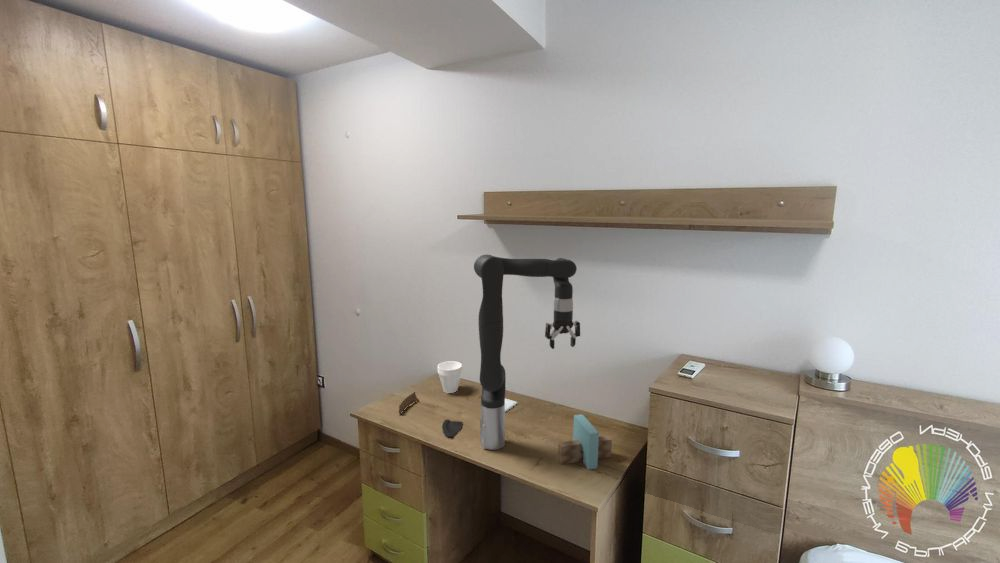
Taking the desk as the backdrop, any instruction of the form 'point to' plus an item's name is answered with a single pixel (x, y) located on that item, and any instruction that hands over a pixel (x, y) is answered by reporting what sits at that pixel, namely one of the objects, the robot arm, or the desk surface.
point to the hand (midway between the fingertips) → (562, 347)
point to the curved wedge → (451, 428)
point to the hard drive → (509, 404)
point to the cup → (450, 375)
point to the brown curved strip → (408, 402)
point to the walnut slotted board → (573, 452)
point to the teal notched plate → (586, 440)
